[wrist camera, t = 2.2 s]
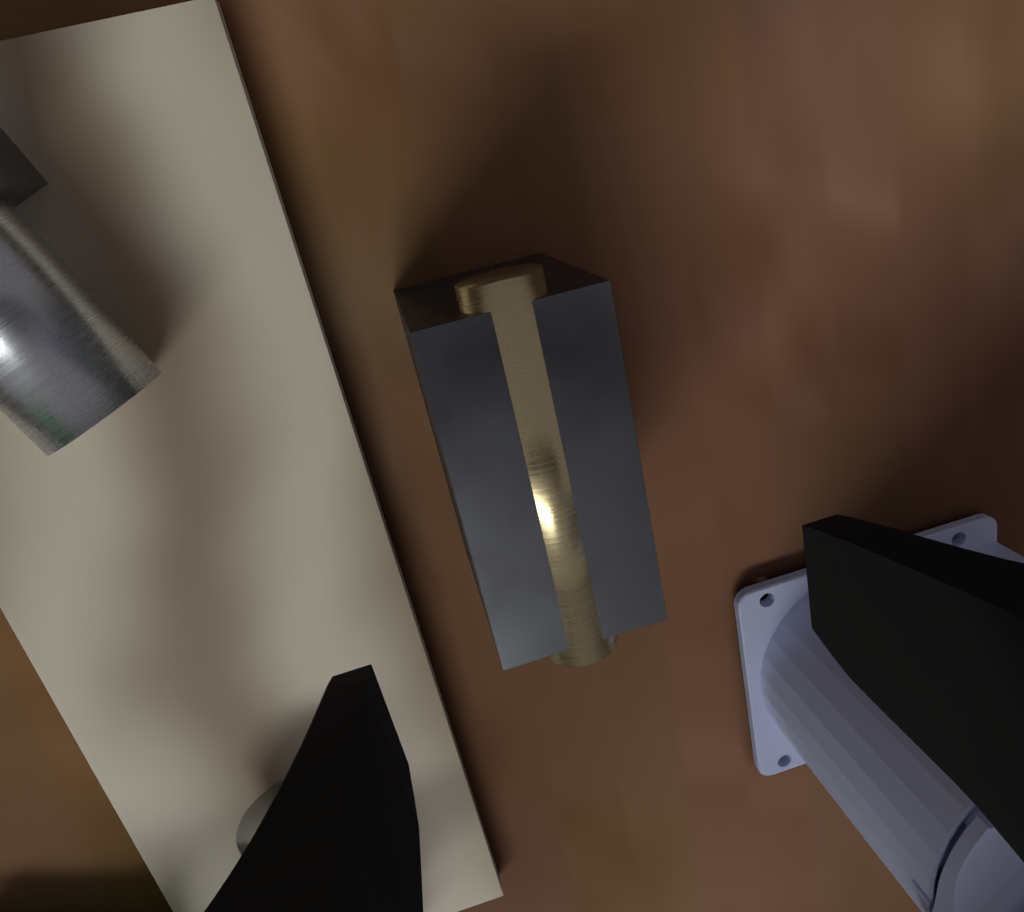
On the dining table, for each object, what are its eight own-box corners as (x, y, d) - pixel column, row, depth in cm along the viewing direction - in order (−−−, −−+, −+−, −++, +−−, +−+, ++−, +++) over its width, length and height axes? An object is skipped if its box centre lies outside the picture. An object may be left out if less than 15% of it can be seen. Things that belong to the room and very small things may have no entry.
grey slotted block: (535, 233, 20) (607, 255, 14) (594, 528, 23) (671, 638, 18) (388, 271, 20) (403, 308, 14) (470, 565, 23) (508, 690, 17)
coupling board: (219, 4, 17) (213, -4, 16) (499, 876, 27) (503, 895, 27) (-258, 105, 16) (-288, 101, 15) (223, 971, 26) (219, 994, 26)
